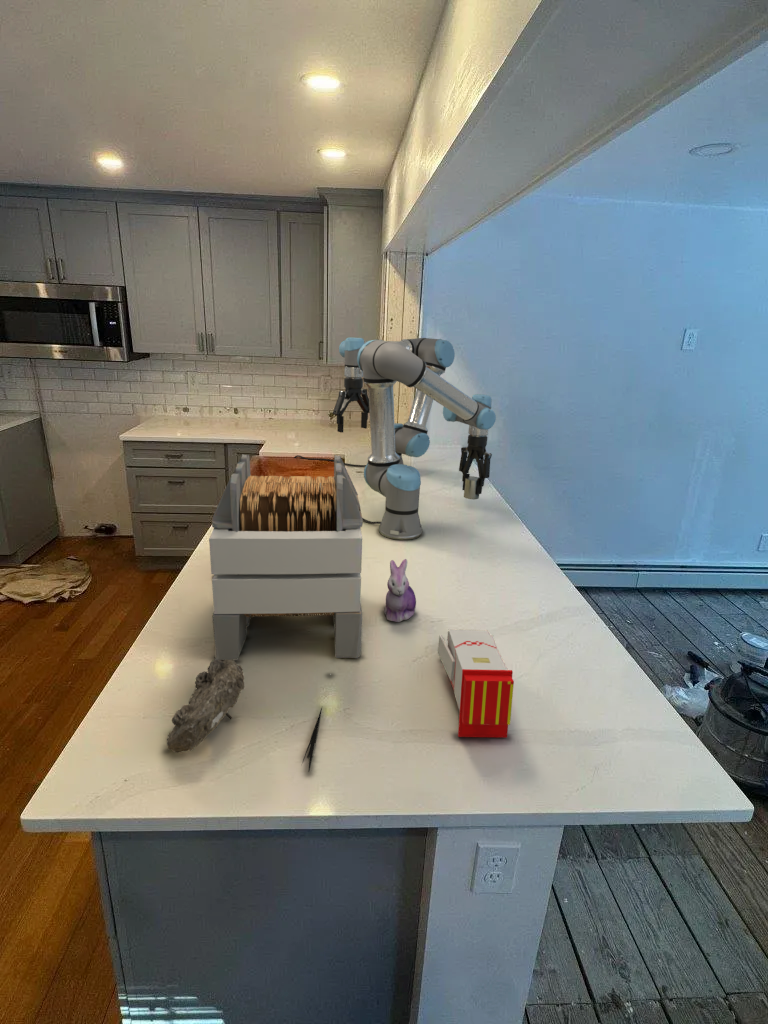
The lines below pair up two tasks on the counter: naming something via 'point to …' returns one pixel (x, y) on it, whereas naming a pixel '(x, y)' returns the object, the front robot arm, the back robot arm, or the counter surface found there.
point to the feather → (313, 740)
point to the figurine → (399, 594)
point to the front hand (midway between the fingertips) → (471, 491)
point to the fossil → (206, 705)
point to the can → (470, 488)
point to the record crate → (286, 555)
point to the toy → (478, 682)
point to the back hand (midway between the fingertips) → (352, 430)
